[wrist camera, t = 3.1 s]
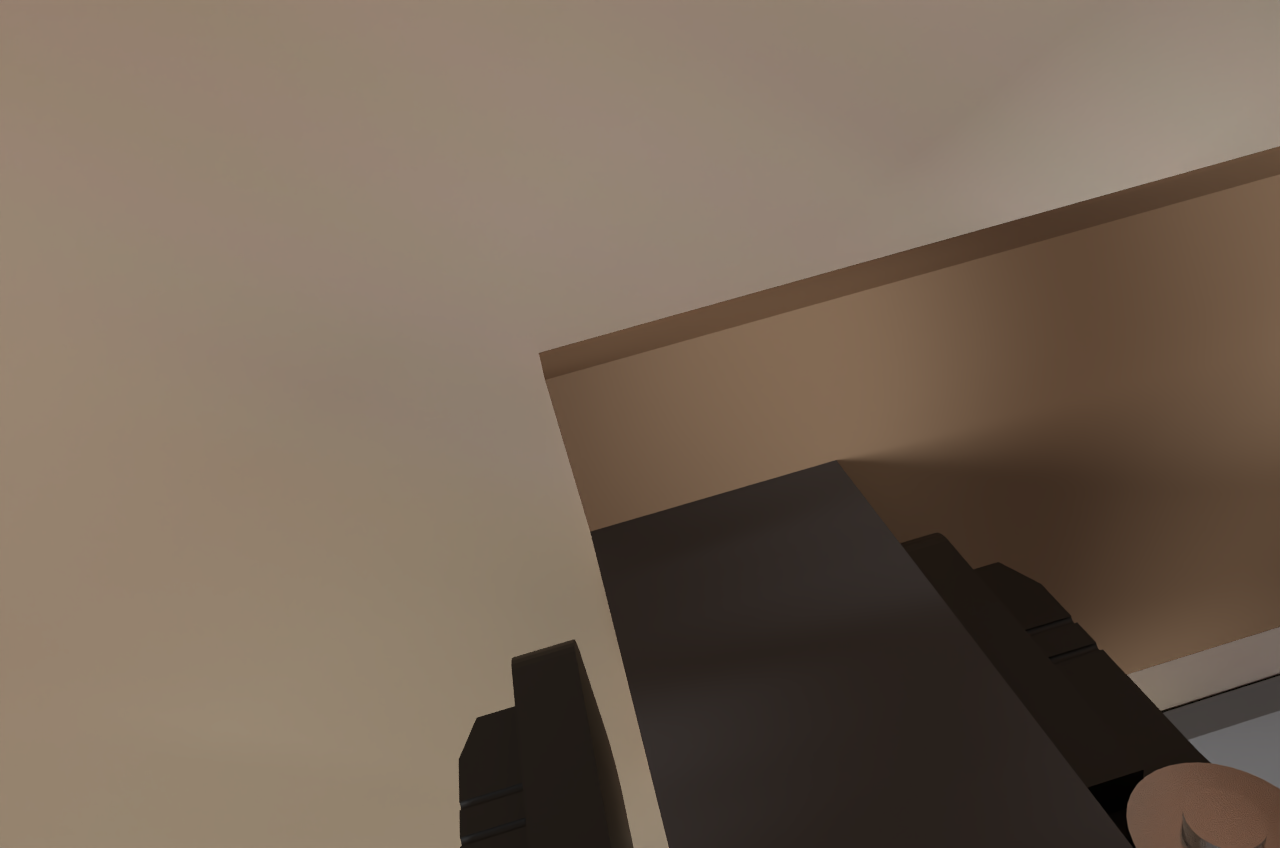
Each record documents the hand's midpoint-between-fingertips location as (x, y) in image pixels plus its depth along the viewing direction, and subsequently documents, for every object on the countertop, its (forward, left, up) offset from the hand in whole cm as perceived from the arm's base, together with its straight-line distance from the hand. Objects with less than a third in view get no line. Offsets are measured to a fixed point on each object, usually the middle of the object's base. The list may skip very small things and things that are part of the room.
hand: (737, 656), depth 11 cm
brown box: (+4, 0, -2) cm, 4 cm away
